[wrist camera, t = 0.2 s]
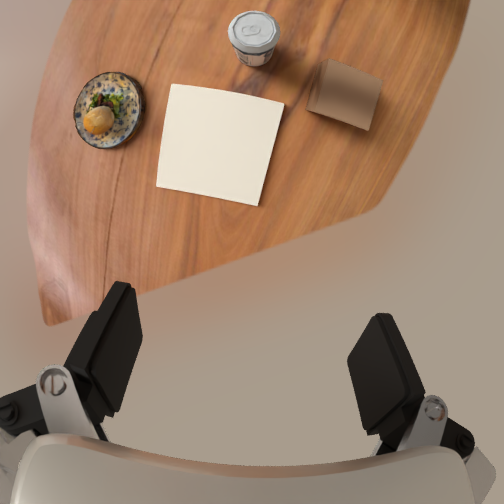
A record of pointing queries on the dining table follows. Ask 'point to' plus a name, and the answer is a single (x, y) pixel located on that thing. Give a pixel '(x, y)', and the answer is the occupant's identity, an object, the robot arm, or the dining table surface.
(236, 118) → the stone tile
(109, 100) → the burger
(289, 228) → the dining table surface
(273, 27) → the beer can
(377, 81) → the walnut block
